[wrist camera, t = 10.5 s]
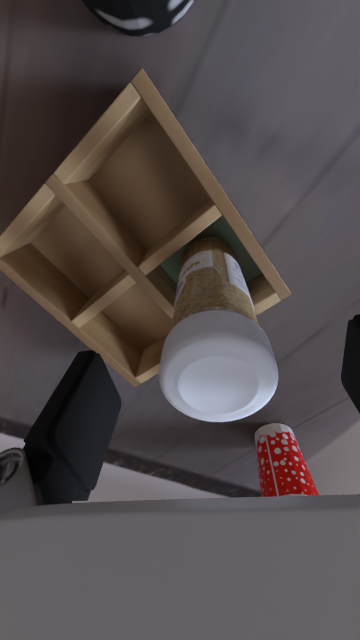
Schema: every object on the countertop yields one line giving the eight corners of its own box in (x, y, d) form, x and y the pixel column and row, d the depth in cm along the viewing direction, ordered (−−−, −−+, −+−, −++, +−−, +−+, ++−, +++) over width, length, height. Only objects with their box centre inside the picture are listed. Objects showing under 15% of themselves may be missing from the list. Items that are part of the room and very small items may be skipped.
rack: (155, 88, 17) (141, 66, 13) (275, 270, 22) (292, 294, 18) (21, 239, 22) (-18, 256, 18) (144, 355, 28) (134, 387, 24)
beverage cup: (263, 456, 35) (296, 611, 23) (238, 430, 33) (260, 587, 21) (308, 440, 33) (371, 602, 21) (285, 411, 30) (339, 575, 18)
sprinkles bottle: (179, 236, 20) (152, 335, 9) (240, 235, 20) (292, 337, 9) (181, 291, 23) (160, 425, 11) (235, 291, 22) (271, 429, 11)
